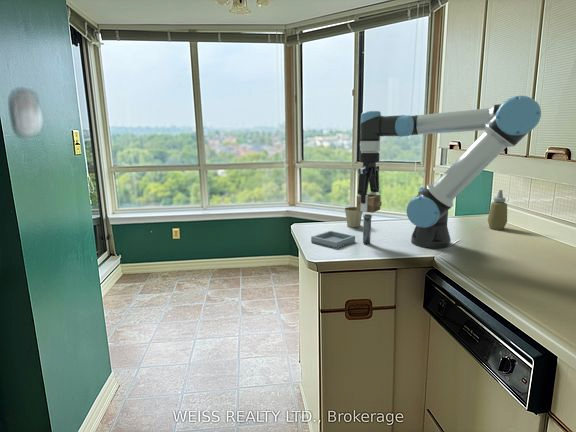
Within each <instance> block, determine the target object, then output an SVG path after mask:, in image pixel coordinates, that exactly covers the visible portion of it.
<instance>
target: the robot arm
mask: <svg viewBox="0 0 576 432" xmlns="http://www.w3.org/2000/svg"><path fill="white" fill-rule="evenodd" d="M541 117H542V109H541V106H540V104H539V103H538V101H536V100H535V99H533V98H532V97H530V96H527V95H516V96H513V97H510V98H508V99H506V100H504V102H502V103H499V104H498V103H497V104H493V105H492V106H491V107H489V108H480V109H469V110H459V111H458V110H457V111H450V112H449V111H448V112H439V113H438V112H437V113H429V114H427V113H426V114H419V115H415V114H414V115H410V114H409V115H405V114H402V115H382V113H381V111H380V110H370V111H369V110H368V111H365V110H364V111H362V113H361V114H360V123H359V125H360V126H359V127H360V128H359V129H360V131H359V132H360V133H359V134H360V137H359V138H360V139H359V141H360V142H359V148H360V149H359V151H360V153H359V162H360V163H362V168H358V181H357V182H358V183H357V184H358V185H357V194H358V195H357V196H359V195H361V205H360V211H364V212H363V213H368V212H367V209H368V195H367V194H373V195H377V193H379V192H380V166H379V165H377V164H376V163H379V162H380V153H379V152H380V150H381V148H380V147H381V137H409V136H418V135H419V136H420V135H432V134H433V135H435V134H446V133H447V134H449V133H461V132H475V131H476V132H477V131H484V132H482V134H480V135H479V137H478V138H476V140H475V141H473V143H472V144H471V145H470V146H469V147H468V148H467V149H466V150H465V151H464V152H463V153H462V154H461V155H460V156H459V157H458V158H457V159H456V161H454V163H452V165H450V167H449V168H448V169H447V170H445V172H444V173H443V174H442V175H441V176H440V177H439V178H438V179H437V180H436V181H435V182H434V183H429V184H427V185H425V186H420V187H419V189H418V193H417V195H416V196H415V197H413V198H412V199H411V200H410V201H409V202H408V204H407V207H406V216H407V218H408V220H409V221H410V223H411V224H412V225H415V228H414V230H413V231H412V234H411V239H410V242H411V243H412V244H413V245H416V246H418V247H423V248H427V247H428V248H429V249H445V248H448V247H450V246H451V241H452V240H451V239H452V238H451V235H450V231H449V228H448V219H449V218H448V217H449V210H450V209H451V208H452V207H453V206H454V199H455V198H456V197H458V195H459V194H460V193H462V192H463V190H464V189H466V188H467V186H468V185H470V184H471V182H473V180H474V179H476V178H477V177H478V176H479V175H480V173H482V172H483V171H484V170H485V169H486V168H487V167H488V166H489V165H490V164H491V163H492V162H493V161H494V160H495V159H496V158H497V157H498V156H499V155H500V154H501V153H502V152H503V151H504V150H505V149H506V148H511V147H512V148H513V147H515V146H516V145H517V144H518V143H520V141H521V140H523V138H524V137H525V136H526V135H528V134H529V133H530V132H531V131H533V130H534V129H535V128H536V126H537V125H538V124H539V123H540V119H541ZM368 189H370V191H369V192H368Z"/></svg>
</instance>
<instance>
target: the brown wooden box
mask: <svg viewBox="0 0 576 432" xmlns="http://www.w3.org/2000/svg"><path fill="white" fill-rule="evenodd" d="M367 195H368V209H367V212H366V213H371V214H373V213H375V212H378V211H380V210H381V207H382V202H383V201H381V194H376V195H373V194H369V193H367ZM360 205H361V195H357V196H356V207H357V211H360ZM362 212H363V213H365V212H364V211H362Z"/></svg>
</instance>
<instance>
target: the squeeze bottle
mask: <svg viewBox="0 0 576 432" xmlns="http://www.w3.org/2000/svg"><path fill="white" fill-rule="evenodd" d="M487 223H488V227H489V228H490V229H491V230H500V231H501V230H505V227H506V225H507V223H508V204H507V202H506V198H505V197H504V194H503V190H502V189H499V190H498V193H497V195H496V197H494V198H493V201H492V202H491V203H490V208H489V211H488V216H487Z"/></svg>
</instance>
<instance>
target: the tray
mask: <svg viewBox="0 0 576 432" xmlns="http://www.w3.org/2000/svg"><path fill="white" fill-rule="evenodd" d="M310 238H311V239H310V240H311V241H310V242H311V243H312V244H315V245H316V244H317V245H320V246H323V245H325V246H324V247H327V246H329V247H328V248H331V247H333V249H335V248H337V249H338V247H339V248H341V247H340V246H342V247H344V246H343V245H345V246H347V245H350V244H352V243H351V242H353V243H355V242H356V236H355V235H353V234H352V235H351V234H348V233H343V232H338V231H334V230H329V231H326V232H322V233H319V234H316V235H312V236H311V237H310ZM354 241H355V242H354ZM349 243H350V244H349ZM346 244H347V245H346Z"/></svg>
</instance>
